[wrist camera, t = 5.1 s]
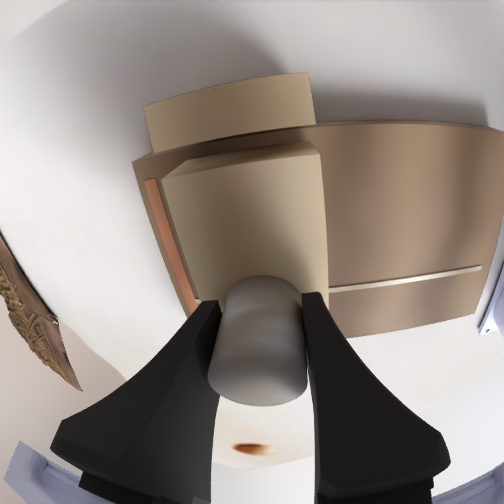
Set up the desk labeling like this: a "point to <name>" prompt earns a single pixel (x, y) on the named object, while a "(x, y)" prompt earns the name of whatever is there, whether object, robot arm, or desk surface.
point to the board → (376, 216)
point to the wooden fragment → (33, 318)
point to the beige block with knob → (249, 228)
